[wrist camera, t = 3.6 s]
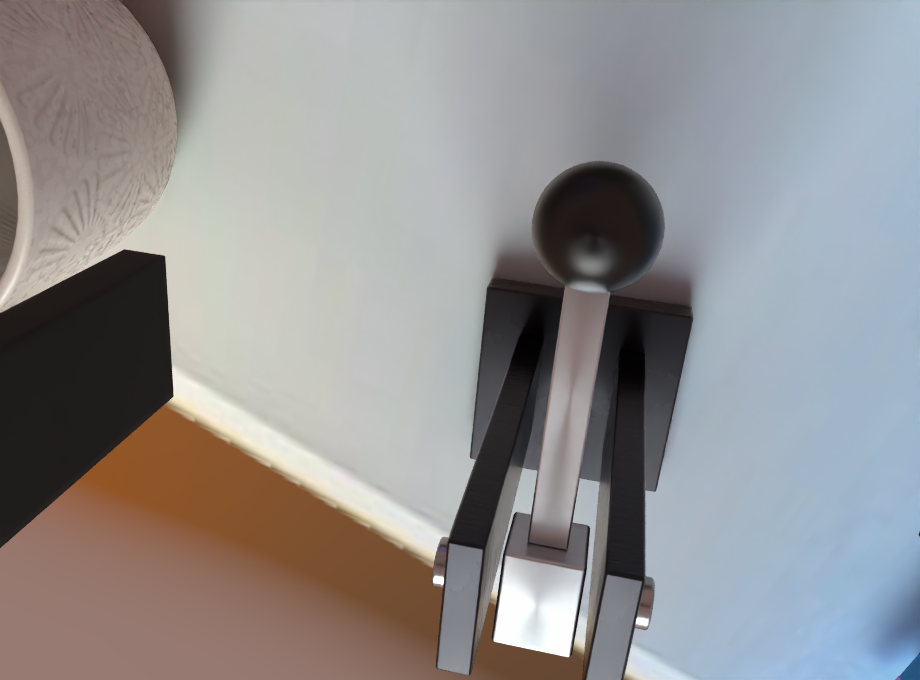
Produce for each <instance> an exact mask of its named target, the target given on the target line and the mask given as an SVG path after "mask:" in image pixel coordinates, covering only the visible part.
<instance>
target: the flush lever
mask: <svg viewBox="0 0 920 680" xmlns="http://www.w3.org/2000/svg"><path fill="white" fill-rule="evenodd" d="M664 230H665V223H664V214H663V209H662V206H661V203H660V201H659V198H658V196H657V194H656V193H655V191H654V190H653V188H652V187H651V186H650V184H649V183H648V182H647V181H646V180H645V179H644V178H643V177H642V176H641V175H639V174H638V173H636V172H635V171H633V170H632V169H629V168H627V167H625V166H623V165H620V164H617V163H612V162H604V161H595V162H587V163H582V164H579V165H576V166H573V167H571V168H569V169H567V170H565V171H564V172H562V173H561V174H559V175H558V176H557V177H556V178H554V179H553V180H552V181H551V182H550V183H549V184H548V186H547V187H546V188H545V189H544V191H543V192H542V194H541V196H540V198H539V200H538V202H537V204H536V207H535V210H534V214H533V219H532V239H533V244H534V248H535V251H536V254H537V256H538V258H539V260H540V262H541V263H542V265H543V266H544V268H545V269H546V270H547V271H548V272H549V273H550V274H551V275H552V276H553V277H554V278H555V279H556V280H557V281H559V282H560V283H562V284H563V285H565V290H564V297H563V304H562V311H561V317H560V324H559V331H558V338H557V344H556V351H555V358H554V365H553V371H552V378H551V385H550V392H549V398H548V405H547V412H546V419H545V425H544V432H543V439H542V446H541V452H540V459H539V466H538V473H537V479H536V486H535V493H534V500H533V506H532V513H531V515H530V514H524V513H519V512H516V513H515V514H514V516H513V520H512V524H511V527H510V531H509V535H508V539H507V542H506V546H505V550H504V553H503V560H502V567H501V575H500V582H499V589H498V596H497V603H496V610H495V618H494V626H493V632H492V640H493V641H494V642H498V643H504V644H508V645H512V646H517V647H522V648H526V649H531V650H536V651H540V652H545V653H550V654H555V655H559V656H564V657H570V656H571V655H572V651H573V645H574V640H575V634H576V628H577V622H578V617H579V611H580V605H581V599H582V594H583V588H584V582H585V576H586V571H587V559H588V547H589V534H590V528H589V526H587V525H583V524H577V523H572V521H573V515H574V509H575V503H576V497H577V491H578V484H579V478H580V472H581V466H582V460H583V454H584V448H585V442H586V436H587V430H588V424H589V418H590V412H591V406H592V400H593V393H594V387H595V381H596V375H597V369H598V363H599V357H600V351H601V345H602V339H603V333H604V327H605V321H606V315H607V309H608V303H609V296H610V292H613V291H616V290H620V289H622V288H624V287H626V286H629V285H630V284H632V283H634V282H635V281H637V280H638V279H639V278H640V277H642V276H643V275H644V274H645V273H646V272H647V271H648V270H649V268H650V267H651V266H652V264H653V263H654V261H655V260H656V258H657V256H658V254H659V251H660V249H661V246H662V242H663V238H664Z"/></svg>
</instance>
